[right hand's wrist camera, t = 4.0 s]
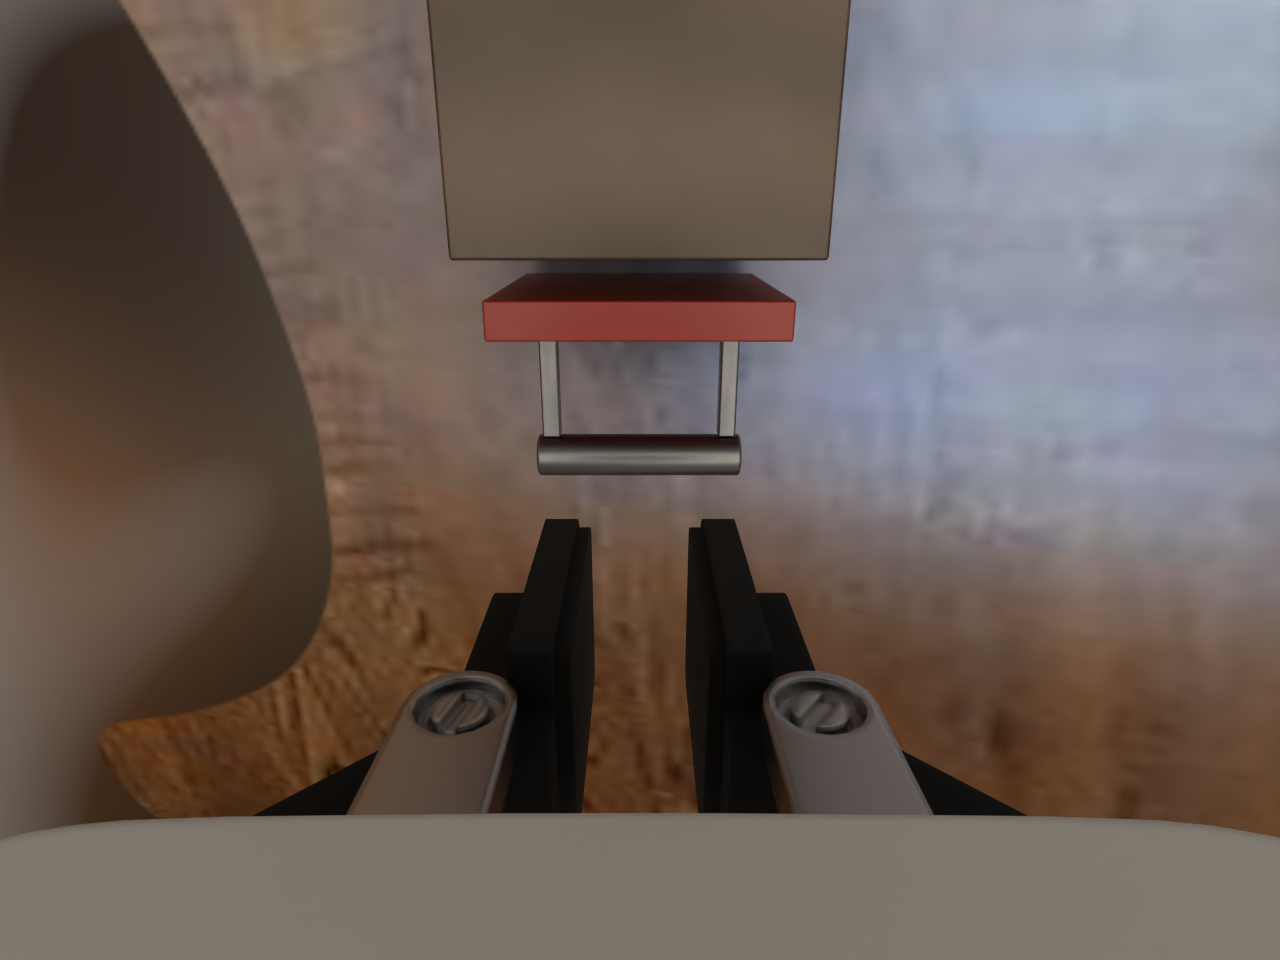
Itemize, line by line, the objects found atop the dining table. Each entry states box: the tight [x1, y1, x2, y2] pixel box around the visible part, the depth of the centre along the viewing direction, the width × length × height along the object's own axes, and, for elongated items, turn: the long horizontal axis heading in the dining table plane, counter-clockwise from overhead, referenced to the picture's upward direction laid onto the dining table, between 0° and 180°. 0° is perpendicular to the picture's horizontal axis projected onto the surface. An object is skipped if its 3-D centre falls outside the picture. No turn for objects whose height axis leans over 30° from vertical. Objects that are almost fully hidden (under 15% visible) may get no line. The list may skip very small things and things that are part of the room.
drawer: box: [482, 274, 796, 475], centre depth 24 cm, size 24×9×9 cm, turn 0°
